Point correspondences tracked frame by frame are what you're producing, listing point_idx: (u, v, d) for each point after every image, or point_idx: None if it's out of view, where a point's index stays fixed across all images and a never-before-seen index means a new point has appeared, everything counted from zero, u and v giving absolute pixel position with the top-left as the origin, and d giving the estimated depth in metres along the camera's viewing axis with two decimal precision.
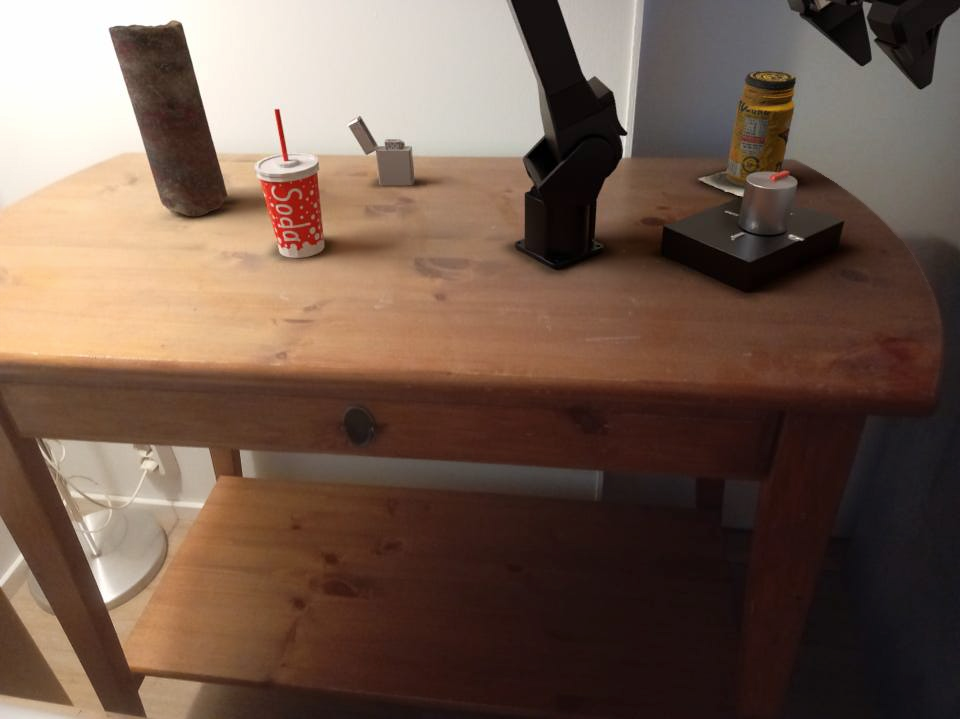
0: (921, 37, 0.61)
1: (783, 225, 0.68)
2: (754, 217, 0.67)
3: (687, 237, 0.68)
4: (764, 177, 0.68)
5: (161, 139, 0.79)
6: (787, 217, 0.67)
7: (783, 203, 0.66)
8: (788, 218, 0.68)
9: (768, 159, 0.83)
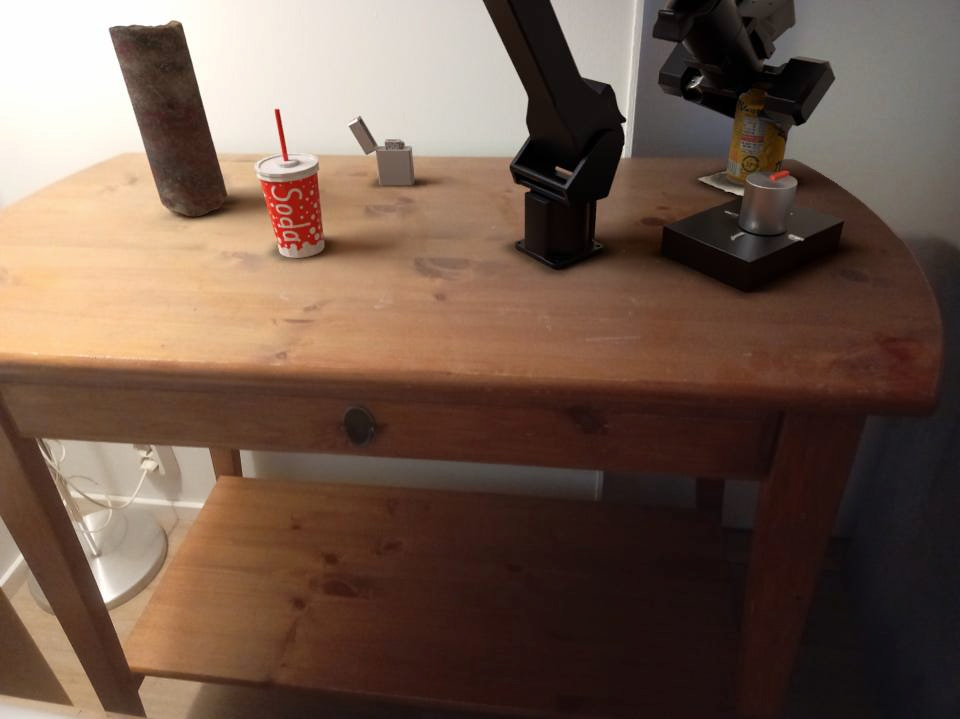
0: None
1: (783, 225, 0.68)
2: (754, 217, 0.67)
3: (687, 237, 0.68)
4: (764, 177, 0.68)
5: (161, 139, 0.79)
6: (787, 217, 0.67)
7: (783, 203, 0.66)
8: (788, 218, 0.68)
9: (768, 158, 0.83)
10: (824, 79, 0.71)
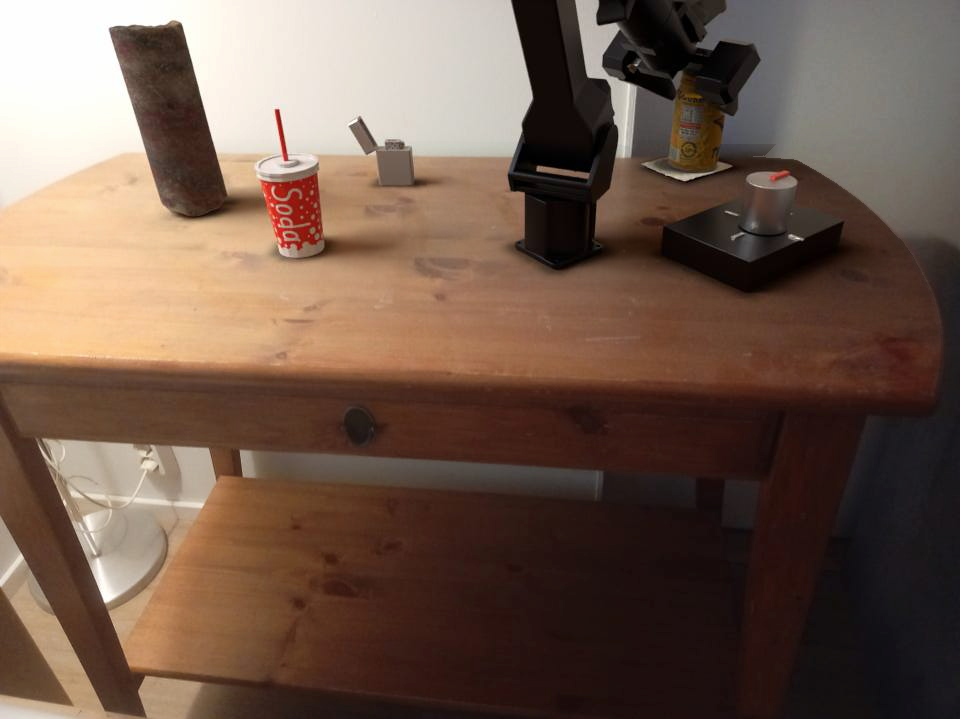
0: None
1: (783, 225, 0.68)
2: (754, 217, 0.67)
3: (687, 237, 0.68)
4: (764, 177, 0.68)
5: (161, 139, 0.79)
6: (787, 217, 0.67)
7: (783, 203, 0.66)
8: (788, 218, 0.68)
9: (705, 144, 0.88)
10: (749, 60, 0.76)
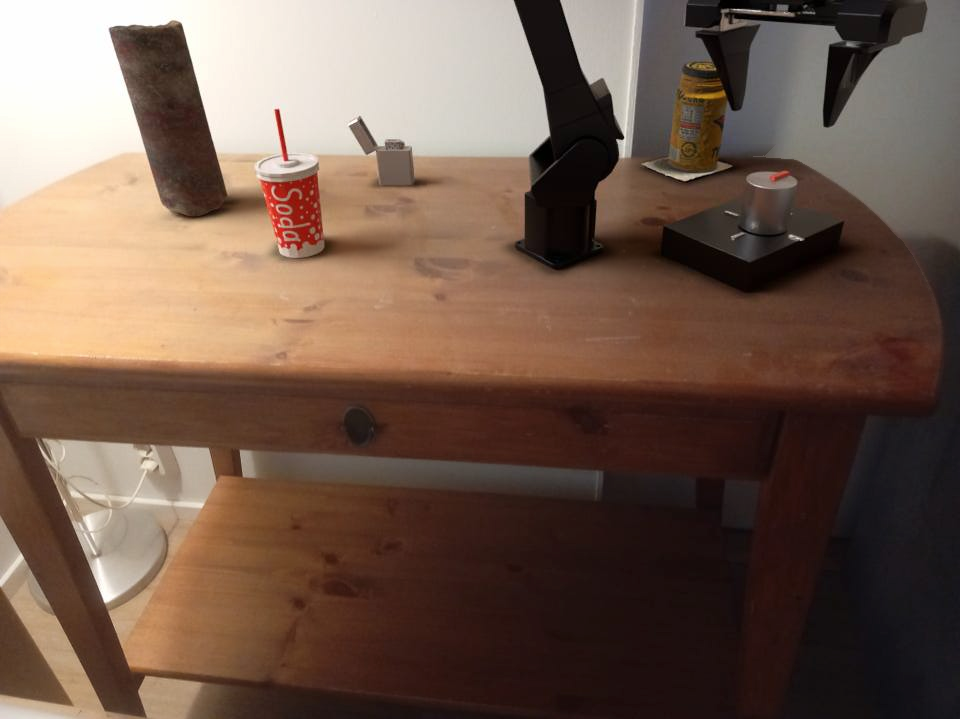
0: (855, 65, 0.59)
1: (783, 225, 0.68)
2: (754, 217, 0.67)
3: (687, 237, 0.68)
4: (764, 177, 0.68)
5: (161, 139, 0.79)
6: (787, 217, 0.67)
7: (783, 203, 0.66)
8: (788, 218, 0.68)
9: (705, 144, 0.88)
10: (919, 11, 0.55)
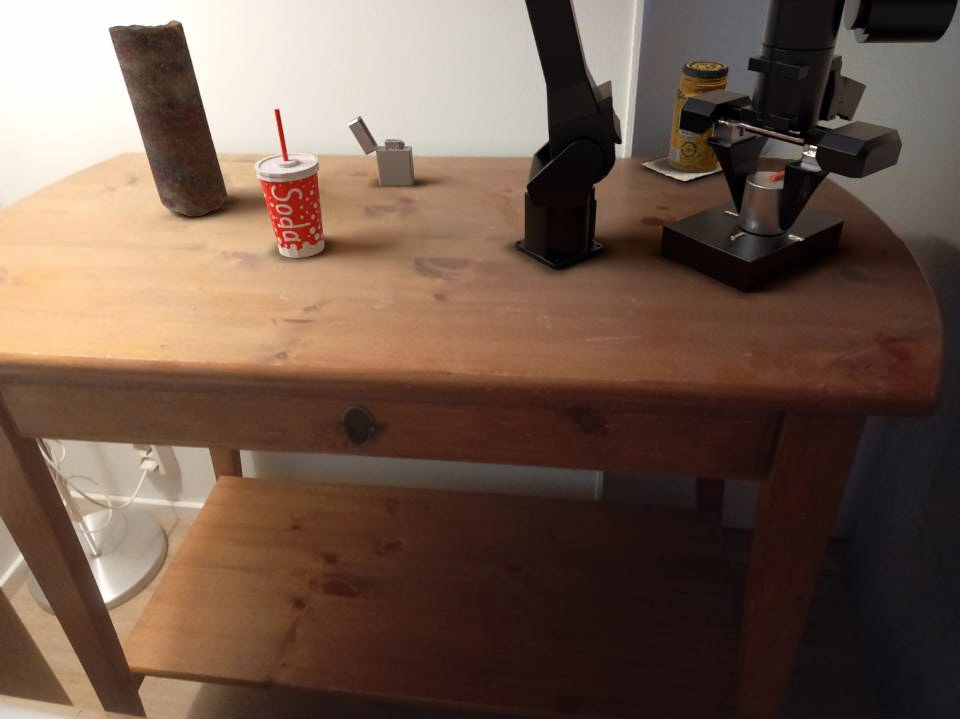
0: (810, 179, 0.64)
1: None
2: (754, 217, 0.67)
3: (687, 237, 0.68)
4: (764, 177, 0.68)
5: (161, 139, 0.79)
6: None
7: None
8: None
9: (705, 144, 0.88)
10: (893, 148, 0.59)
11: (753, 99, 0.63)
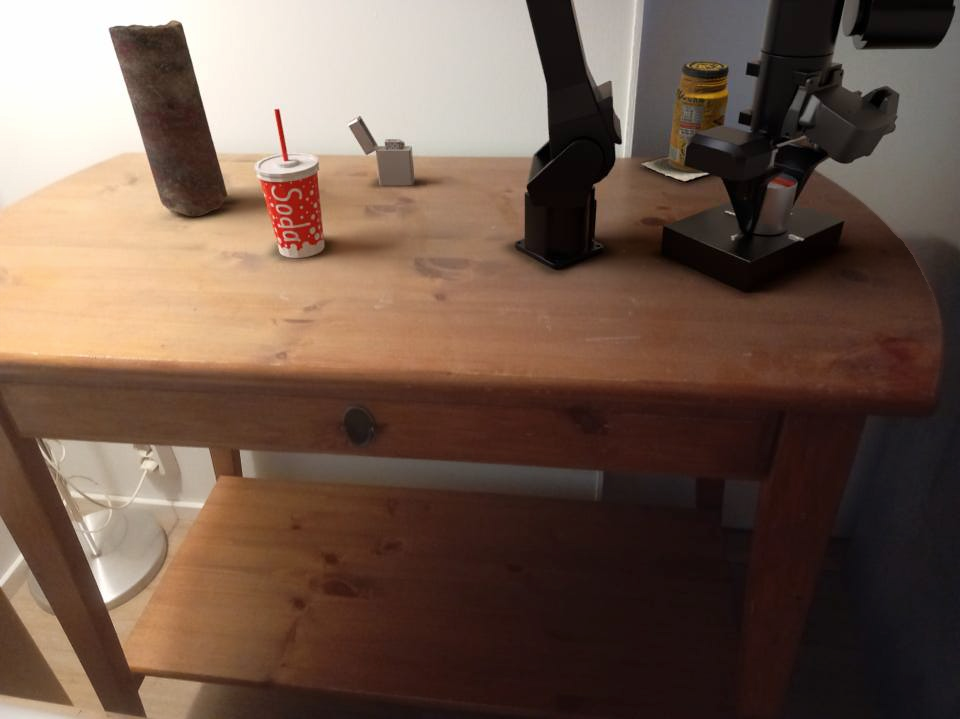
0: (749, 185, 0.65)
1: None
2: None
3: (687, 237, 0.68)
4: None
5: (161, 139, 0.79)
6: None
7: None
8: None
9: None
10: (722, 158, 0.59)
11: None
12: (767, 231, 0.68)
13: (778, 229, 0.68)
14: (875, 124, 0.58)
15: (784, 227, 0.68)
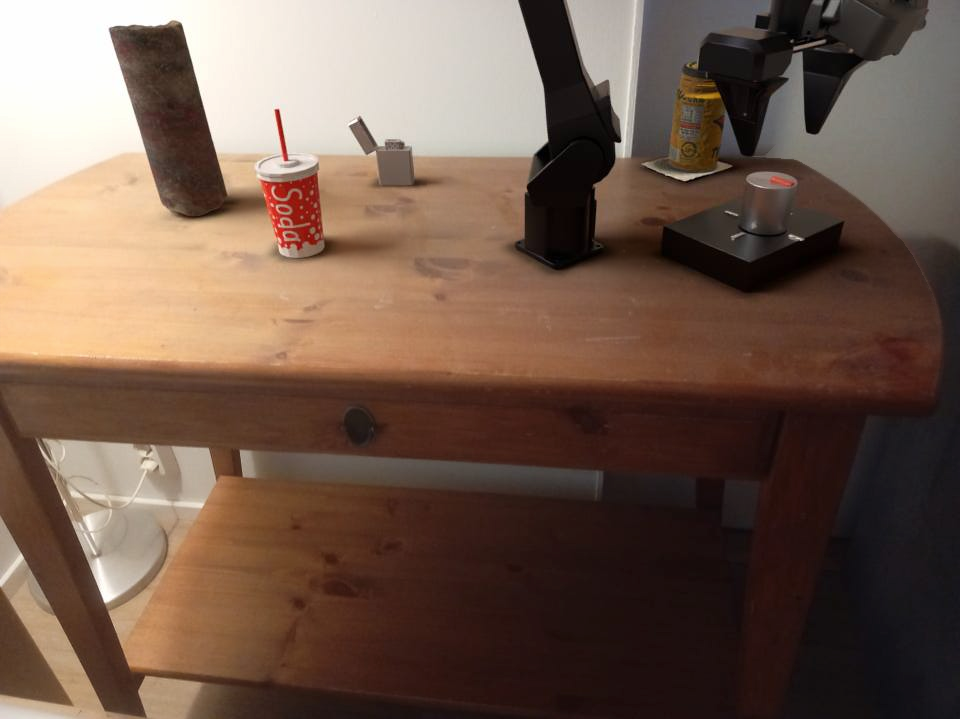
0: (750, 99, 0.60)
1: (748, 223, 0.68)
2: None
3: (687, 237, 0.68)
4: None
5: (161, 139, 0.79)
6: (753, 217, 0.68)
7: (747, 198, 0.67)
8: (755, 220, 0.68)
9: (705, 144, 0.88)
10: (740, 56, 0.55)
11: None
12: (767, 231, 0.68)
13: (778, 229, 0.68)
14: (905, 15, 0.53)
15: (784, 227, 0.68)
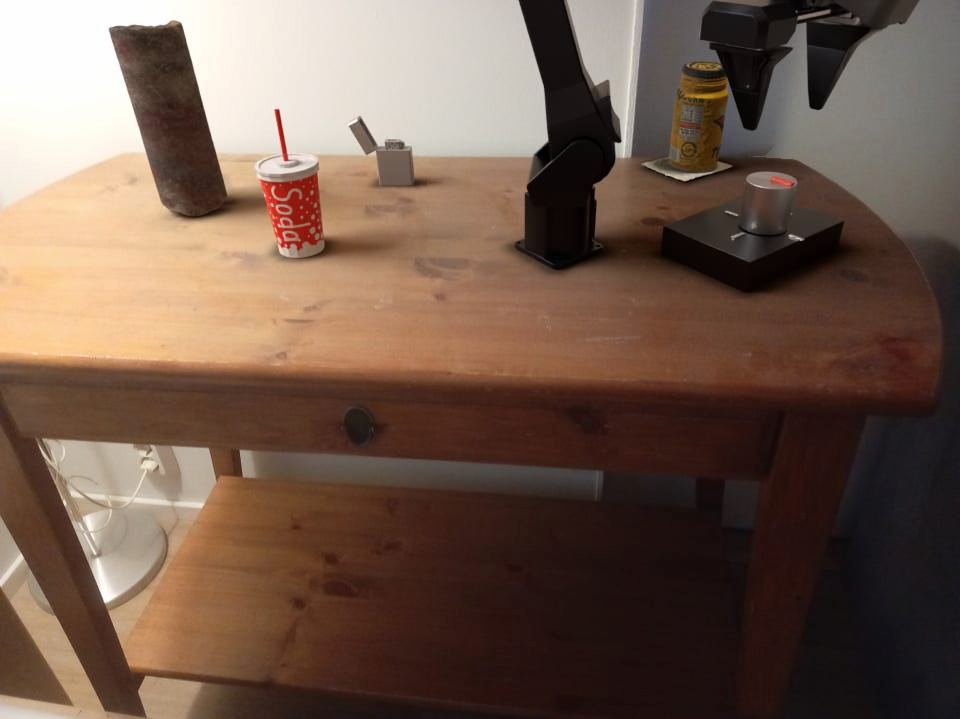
0: (753, 70, 0.58)
1: (748, 223, 0.68)
2: None
3: (687, 237, 0.68)
4: None
5: (161, 139, 0.79)
6: (753, 217, 0.68)
7: (747, 198, 0.67)
8: (755, 220, 0.68)
9: (705, 144, 0.88)
10: (743, 24, 0.54)
11: None
12: (767, 231, 0.68)
13: (778, 229, 0.68)
14: None
15: (784, 227, 0.68)
